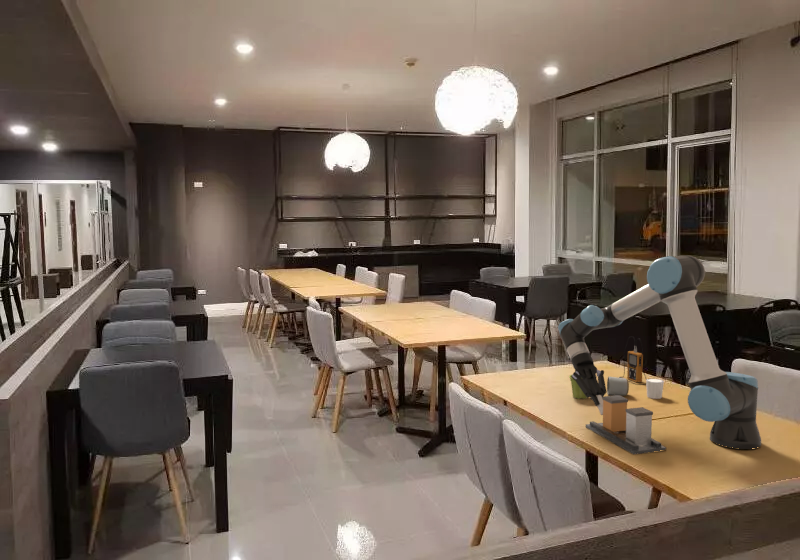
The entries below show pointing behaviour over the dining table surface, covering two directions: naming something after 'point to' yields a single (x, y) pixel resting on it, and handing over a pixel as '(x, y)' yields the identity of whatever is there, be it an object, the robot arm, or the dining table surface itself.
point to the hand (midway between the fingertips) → (604, 413)
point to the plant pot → (576, 389)
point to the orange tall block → (614, 413)
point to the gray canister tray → (631, 432)
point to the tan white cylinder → (654, 388)
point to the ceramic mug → (617, 386)
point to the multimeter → (634, 365)
